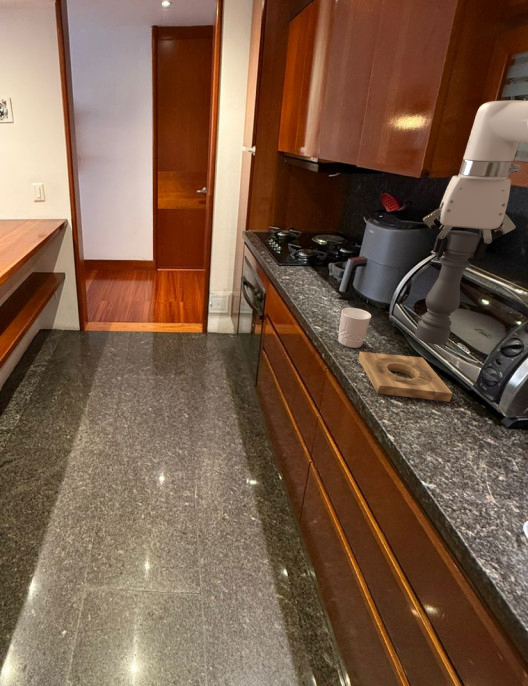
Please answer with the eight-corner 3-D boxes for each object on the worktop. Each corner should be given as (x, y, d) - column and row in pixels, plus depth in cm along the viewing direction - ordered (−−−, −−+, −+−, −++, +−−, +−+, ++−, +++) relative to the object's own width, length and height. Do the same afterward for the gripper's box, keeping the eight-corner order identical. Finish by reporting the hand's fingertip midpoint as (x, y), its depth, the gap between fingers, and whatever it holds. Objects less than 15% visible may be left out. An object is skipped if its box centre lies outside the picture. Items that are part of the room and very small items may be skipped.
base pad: (420, 365, 108) (422, 357, 107) (449, 401, 93) (452, 393, 92) (358, 358, 111) (359, 351, 110) (377, 393, 96) (379, 385, 95)
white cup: (340, 347, 116) (346, 318, 112) (332, 335, 123) (338, 306, 120) (368, 350, 115) (375, 320, 111) (359, 337, 122) (365, 308, 118)
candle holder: (418, 329, 94) (448, 228, 85) (449, 338, 90) (484, 233, 81) (411, 338, 90) (442, 233, 81) (443, 347, 86) (480, 239, 77)
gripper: (533, 170, 75) (501, 258, 82) (428, 167, 83) (406, 248, 89) (550, 174, 69) (513, 268, 76) (434, 170, 76) (411, 257, 83)
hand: (456, 256), depth 83 cm, fingers closed on candle holder, 5 cm apart
